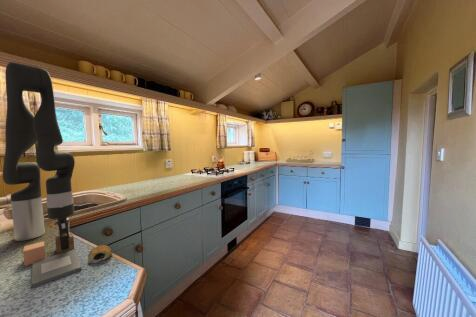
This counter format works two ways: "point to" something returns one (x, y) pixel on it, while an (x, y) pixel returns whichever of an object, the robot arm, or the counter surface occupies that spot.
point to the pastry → (99, 253)
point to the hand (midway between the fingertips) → (64, 245)
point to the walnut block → (58, 243)
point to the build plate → (54, 267)
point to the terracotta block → (34, 252)
